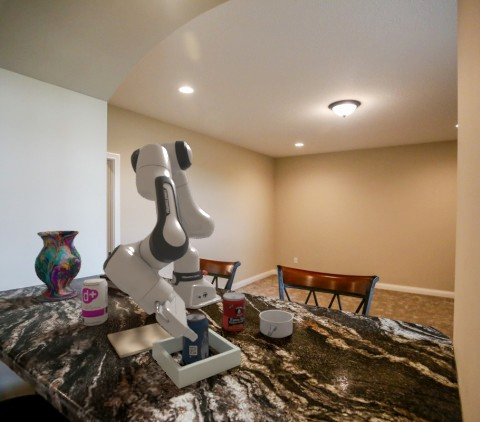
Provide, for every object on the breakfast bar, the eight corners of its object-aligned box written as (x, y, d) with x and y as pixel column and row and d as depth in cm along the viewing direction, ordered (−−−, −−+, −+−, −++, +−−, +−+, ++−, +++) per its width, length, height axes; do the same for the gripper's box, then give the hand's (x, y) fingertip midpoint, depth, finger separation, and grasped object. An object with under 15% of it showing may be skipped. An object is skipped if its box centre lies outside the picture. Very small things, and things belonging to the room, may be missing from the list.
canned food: (228, 333, 94) (228, 300, 94) (219, 325, 101) (219, 293, 101) (249, 329, 98) (249, 297, 97) (238, 321, 105) (238, 291, 105)
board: (156, 325, 101) (156, 323, 101) (175, 342, 88) (175, 339, 88) (107, 337, 91) (107, 334, 91) (120, 358, 78) (120, 355, 78)
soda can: (185, 353, 81) (185, 311, 81) (210, 354, 81) (210, 311, 81) (179, 367, 74) (179, 320, 74) (206, 368, 74) (206, 321, 74)
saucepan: (249, 350, 83) (249, 331, 83) (262, 324, 102) (262, 308, 102) (289, 356, 80) (289, 336, 80) (294, 327, 99) (295, 311, 99)
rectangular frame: (207, 340, 89) (207, 327, 89) (240, 364, 75) (240, 349, 75) (152, 356, 79) (152, 342, 79) (178, 388, 65) (179, 371, 65)
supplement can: (97, 327, 99) (97, 283, 99) (76, 325, 100) (76, 282, 100) (112, 318, 107) (112, 278, 107) (92, 316, 108) (92, 277, 108)
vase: (89, 294, 136) (89, 231, 136) (46, 305, 121) (46, 234, 121) (68, 288, 146) (68, 229, 146) (27, 298, 131) (27, 232, 130)
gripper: (164, 299, 65) (207, 338, 67) (166, 278, 85) (199, 309, 87) (143, 320, 64) (187, 359, 66) (150, 294, 84) (184, 325, 86)
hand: (194, 330), depth 77 cm, fingers open, 8 cm apart
